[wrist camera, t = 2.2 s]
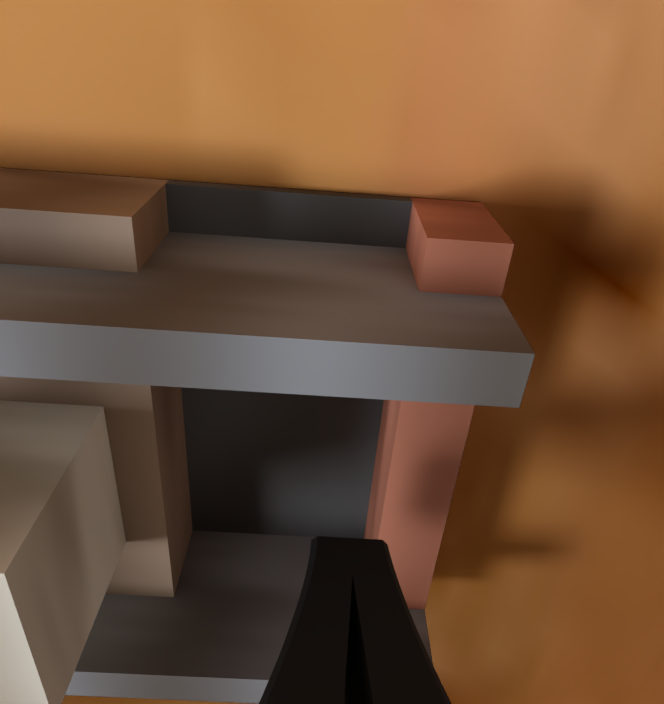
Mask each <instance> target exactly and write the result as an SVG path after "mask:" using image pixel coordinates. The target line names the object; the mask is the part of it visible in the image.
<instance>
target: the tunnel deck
mask: <svg viewBox="0 0 664 704" xmlns="http://www.w3.org/2000/svg"><path fill="white" fill-rule="evenodd" d="M513 248H514V243H513V241H512V240H511V239H510V238H509V236H508V235H507V234H506V233H505V231H504V230H503V229H502V228H501V226H500V225H499V224H498V222H497V221H496V220H495V219H494V217H493V216H492V215H491V214H490V212H489V211H488V210H487V208H486V207H485V206H484V205H483V203H480V202H467V201H453V200H439V199H425V198H411V197H398V196H384V195H370V194H356V193H342V192H329V191H315V190H301V189H287V188H273V187H260V186H246V185H232V184H218V183H204V182H191V181H177V180H163V179H149V178H135V177H122V176H108V175H94V174H80V173H66V172H53V171H39V170H25V169H11V168H0V400H1V401H18V402H35V403H52V404H69V405H85V406H102V407H103V408H104V414H105V420H106V426H107V432H108V438H109V443H110V449H111V455H112V461H113V467H114V473H115V479H116V485H117V491H118V497H119V503H120V509H121V515H122V521H123V527H124V533H125V539H126V543H125V546H124V548H123V551H122V553H121V556H120V558H119V561H118V563H117V566H116V568H115V571H114V573H113V576H112V578H111V581H110V583H109V586H108V588H107V591H106V593H105V596H104V598H103V601H102V603H101V606H100V608H99V611H98V613H97V616H96V618H95V621H94V623H93V626H92V629H91V631H90V634H89V636H88V639H87V641H86V644H85V646H84V649H83V651H82V654H81V656H80V659H79V661H78V664H77V666H76V669H75V671H74V674H73V676H72V679H71V681H70V684H69V686H68V689H67V691H66V694H65V695H75V696H98V697H122V698H145V699H168V700H191V701H214V702H237V703H259V702H260V700H261V697H262V695H263V693H264V690H265V688H266V686H267V683H268V681H269V678H270V676H271V674H272V671H273V669H274V666H275V664H276V662H277V659H278V657H279V654H280V652H281V649H282V647H283V644H284V641H285V638H286V635H287V633H288V630H289V627H290V624H291V621H292V618H293V615H294V613H295V610H296V607H297V604H298V600H299V597H300V593H301V590H302V587H303V583H304V579H305V575H306V571H307V566H308V561H309V556H310V547H311V540H312V539H314V538H315V537H317V536H325V537H343V538H361V539H379V540H383V541H384V542H386V543H387V544H388V548H389V552H390V556H391V559H392V563H393V566H394V569H395V572H396V575H397V578H398V581H399V584H400V587H401V590H402V593H403V595H404V598H405V601H406V603H407V606H408V609H409V611H410V614H411V616H412V619H413V621H414V623H415V626H416V628H417V631H418V633H419V635H420V637H421V640H422V642H423V644H424V646H425V649H426V651H427V653H428V656H429V658H430V660H431V662H432V656H431V649H430V643H429V636H428V630H427V623H426V616H425V610H424V609H425V605H426V601H427V597H428V593H429V589H430V585H431V581H432V577H433V573H434V569H435V565H436V561H437V557H438V553H439V548H440V544H441V540H442V536H443V532H444V528H445V524H446V520H447V516H448V512H449V508H450V504H451V500H452V496H453V492H454V488H455V483H456V479H457V475H458V471H459V467H460V463H461V459H462V455H463V451H464V447H465V443H466V439H467V435H468V431H469V427H470V423H471V418H472V414H473V410H474V406H475V405H480V406H497V407H513V408H519V407H520V404H521V400H522V397H523V393H524V390H525V387H526V383H527V380H528V377H529V373H530V370H531V366H532V363H533V360H534V356H535V353H534V351H533V349H532V348H531V346H530V344H529V343H528V341H527V339H526V338H525V336H524V334H523V333H522V331H521V329H520V327H519V326H518V324H517V322H516V321H515V319H514V317H513V316H512V314H511V312H510V311H509V309H508V307H507V306H506V304H505V302H504V300H503V299H502V293H503V289H504V284H505V280H506V276H507V272H508V268H509V264H510V260H511V256H512V252H513ZM432 665H433V663H432Z"/></svg>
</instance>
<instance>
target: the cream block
mask: <svg viewBox="0 0 664 704" xmlns="http://www.w3.org/2000/svg"><path fill="white" fill-rule="evenodd" d="M125 543H126V539H125V533H124V527H123V521H122V515H121V509H120V503H119V497H118V491H117V485H116V479H115V473H114V467H113V461H112V455H111V449H110V443H109V438H108V432H107V426H106V420H105V414H104V408H103V407H102V406H85V405H69V404H52V403H35V402H18V401H1V400H0V704H62V701H63V699H64V696H65V694H66V691H67V689H68V686H69V684H70V681H71V679H72V676H73V674H74V671H75V669H76V666H77V664H78V661H79V659H80V656H81V654H82V651H83V649H84V646H85V644H86V641H87V639H88V636H89V634H90V631H91V629H92V626H93V623H94V621H95V618H96V616H97V613H98V611H99V608H100V606H101V603H102V601H103V598H104V596H105V593H106V591H107V588H108V586H109V583H110V581H111V578H112V576H113V573H114V571H115V568H116V566H117V563H118V561H119V558H120V556H121V553H122V551H123V548H124V546H125Z"/></svg>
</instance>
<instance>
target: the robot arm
mask: <svg viewBox="0 0 664 704" xmlns="http://www.w3.org/2000/svg"><path fill="white" fill-rule="evenodd" d="M259 704H451V702H450V700H449V698H448V696H447V694H446V692H445V690H444V688H443V686H442V684H441V682H440V679H439V677H438V675H437V673H436V671H435V669H434V667H433V665H432V662H431V660H430V658H429V656H428V653H427V651H426V649H425V646H424V644H423V642H422V640H421V637H420V635H419V633H418V631H417V628H416V626H415V623H414V621H413V619H412V616H411V614H410V611H409V609H408V606H407V603H406V601H405V598H404V595H403V593H402V590H401V587H400V584H399V581H398V578H397V575H396V572H395V569H394V566H393V563H392V559H391V556H390V552H389V548H388V544H387V543H386V542H384V541H383V540H379V539H361V538H343V537H325V536H317V537H315V538H314V539H312V540H311V547H310V556H309V561H308V566H307V571H306V575H305V579H304V583H303V587H302V590H301V593H300V597H299V600H298V604H297V607H296V610H295V613H294V615H293V618H292V621H291V624H290V627H289V630H288V633H287V635H286V638H285V641H284V644H283V647H282V649H281V652H280V654H279V657H278V659H277V662H276V664H275V666H274V669H273V671H272V674H271V676H270V678H269V681H268V683H267V686H266V688H265V690H264V693H263V695H262V697H261V700H260V702H259Z"/></svg>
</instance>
